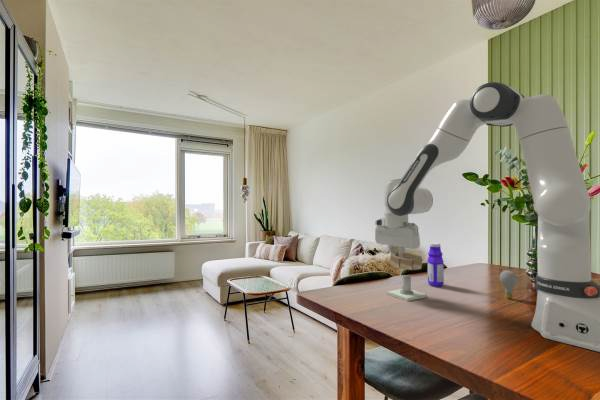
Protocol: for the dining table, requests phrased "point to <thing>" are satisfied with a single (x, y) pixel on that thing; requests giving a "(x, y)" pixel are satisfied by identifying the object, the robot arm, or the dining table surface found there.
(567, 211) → the robot arm
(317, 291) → the dining table surface
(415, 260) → the ring
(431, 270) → the bottle
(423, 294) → the square peg stand
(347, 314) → the dining table surface
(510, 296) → the light bulb
